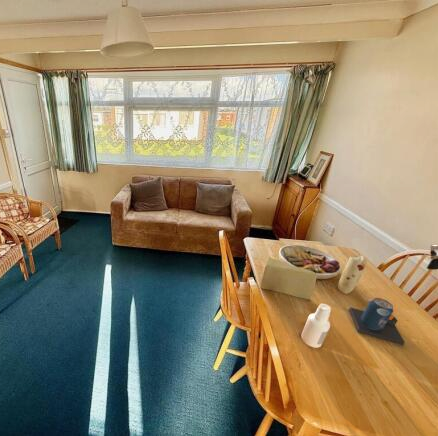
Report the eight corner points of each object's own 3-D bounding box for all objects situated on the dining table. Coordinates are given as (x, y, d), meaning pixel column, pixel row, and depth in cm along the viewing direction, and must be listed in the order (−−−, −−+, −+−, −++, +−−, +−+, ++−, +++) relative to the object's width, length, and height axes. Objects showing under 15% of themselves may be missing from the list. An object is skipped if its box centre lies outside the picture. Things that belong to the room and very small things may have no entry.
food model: (351, 298, 111) (367, 264, 103) (334, 291, 116) (349, 258, 107) (354, 288, 117) (370, 256, 109) (338, 282, 122) (352, 250, 113)
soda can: (380, 334, 91) (393, 312, 86) (357, 323, 96) (369, 302, 91) (383, 325, 95) (396, 304, 90) (361, 315, 100) (373, 294, 95)
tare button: (390, 316, 98) (392, 313, 97) (393, 321, 95) (395, 318, 95) (381, 314, 99) (383, 311, 98) (384, 318, 96) (386, 316, 96)
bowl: (275, 270, 131) (278, 259, 128) (279, 246, 154) (282, 236, 151) (340, 289, 117) (346, 277, 113) (334, 260, 140) (338, 249, 136)
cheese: (309, 293, 115) (319, 269, 108) (310, 305, 107) (320, 280, 101) (261, 278, 125) (267, 255, 119) (259, 288, 118) (265, 264, 111)
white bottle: (324, 349, 87) (341, 315, 80) (305, 346, 88) (319, 313, 81) (316, 334, 93) (330, 301, 86) (297, 331, 94) (310, 299, 87)
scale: (390, 320, 99) (393, 314, 98) (405, 346, 88) (410, 340, 87) (347, 308, 105) (350, 303, 104) (357, 332, 94) (360, 326, 93)
